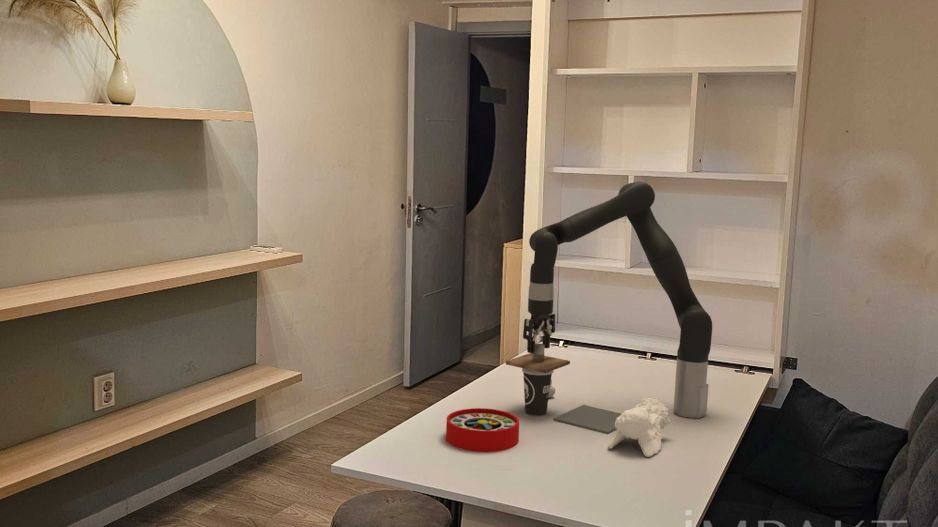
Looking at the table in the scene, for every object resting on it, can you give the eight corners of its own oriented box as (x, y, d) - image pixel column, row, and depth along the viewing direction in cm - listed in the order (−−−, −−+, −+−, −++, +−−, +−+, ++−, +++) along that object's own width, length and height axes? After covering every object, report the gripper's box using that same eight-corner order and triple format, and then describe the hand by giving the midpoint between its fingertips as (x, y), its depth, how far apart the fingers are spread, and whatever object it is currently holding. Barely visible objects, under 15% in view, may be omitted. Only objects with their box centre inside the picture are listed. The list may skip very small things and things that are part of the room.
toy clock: (505, 406, 251) (529, 428, 232) (504, 425, 252) (529, 449, 233) (438, 410, 245) (457, 433, 226) (437, 430, 246) (457, 455, 227)
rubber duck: (535, 398, 278) (537, 374, 277) (540, 393, 284) (541, 369, 283) (552, 400, 276) (553, 376, 275) (556, 395, 283) (558, 371, 282)
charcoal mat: (635, 418, 261) (636, 417, 261) (607, 434, 246) (607, 431, 246) (583, 406, 271) (583, 404, 271) (553, 420, 257) (553, 418, 257)
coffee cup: (540, 419, 257) (542, 370, 255) (513, 412, 263) (515, 364, 261) (557, 412, 265) (559, 364, 263) (531, 405, 271) (533, 358, 269)
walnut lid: (569, 364, 263) (570, 344, 263) (545, 373, 252) (546, 353, 251) (530, 356, 272) (531, 337, 271) (505, 364, 261) (506, 344, 260)
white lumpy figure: (678, 403, 243) (655, 414, 225) (672, 447, 243) (649, 461, 226) (633, 393, 249) (607, 403, 232) (628, 436, 250) (602, 449, 233)
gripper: (538, 302, 251) (536, 356, 253) (564, 295, 263) (561, 348, 265) (517, 298, 256) (515, 352, 258) (542, 292, 267) (540, 344, 269)
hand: (538, 350), depth 261 cm, fingers open, 8 cm apart
